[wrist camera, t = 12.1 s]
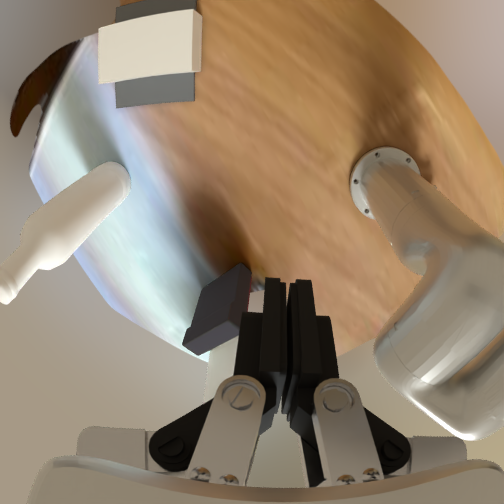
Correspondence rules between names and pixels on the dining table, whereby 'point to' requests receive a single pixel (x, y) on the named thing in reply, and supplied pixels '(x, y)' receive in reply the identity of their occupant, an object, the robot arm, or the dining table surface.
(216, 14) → the dining table surface
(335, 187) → the dining table surface
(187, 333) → the dark grey box
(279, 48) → the dining table surface
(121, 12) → the mat
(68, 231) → the bottle
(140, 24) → the flip block
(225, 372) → the milk
